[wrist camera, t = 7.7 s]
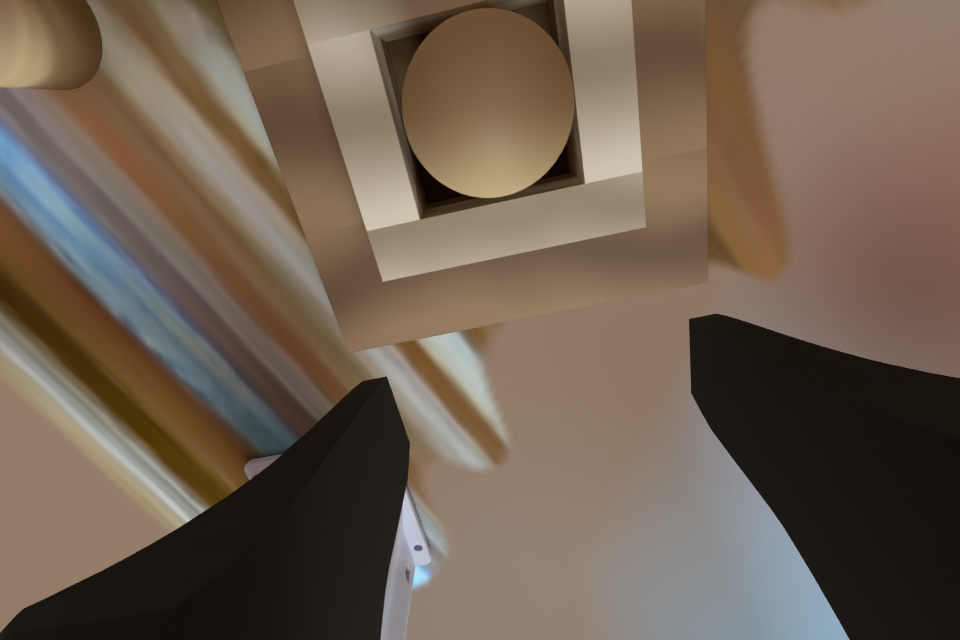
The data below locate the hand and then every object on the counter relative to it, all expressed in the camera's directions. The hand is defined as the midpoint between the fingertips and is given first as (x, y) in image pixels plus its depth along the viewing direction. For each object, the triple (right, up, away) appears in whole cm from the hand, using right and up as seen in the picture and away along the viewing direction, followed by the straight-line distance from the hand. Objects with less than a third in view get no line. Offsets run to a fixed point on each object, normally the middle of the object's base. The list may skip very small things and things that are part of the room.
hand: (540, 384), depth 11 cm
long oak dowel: (-1, +10, +7) cm, 12 cm away
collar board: (-1, +10, +7) cm, 12 cm away
